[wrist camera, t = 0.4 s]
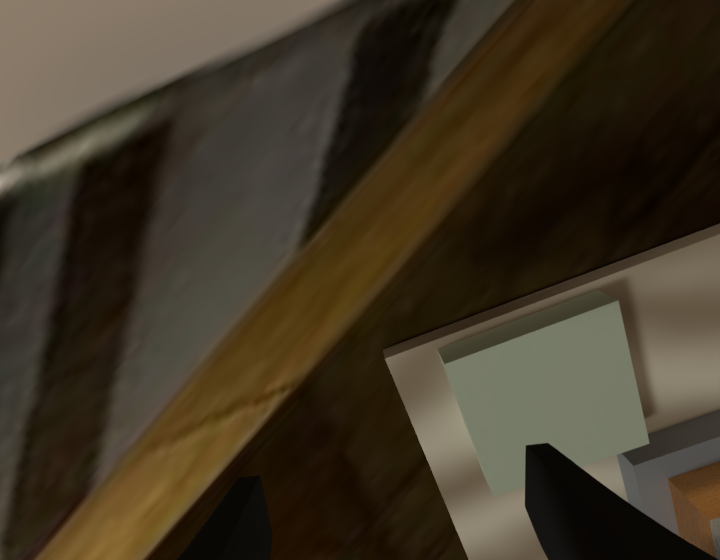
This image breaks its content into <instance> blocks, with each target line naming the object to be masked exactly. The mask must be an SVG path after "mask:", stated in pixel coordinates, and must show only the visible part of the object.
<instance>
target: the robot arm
mask: <svg viewBox="0 0 720 560" xmlns="http://www.w3.org/2000/svg"><path fill="white" fill-rule="evenodd" d="M525 508H526V511H527V513H528V516H529V518H530V521H531V523H532V526H533V528H534V531H535V533H536V535H537V538H538V540H539V542H540V545H541V547H542V549H543V551H544V553H545V555H546V556H547V558H548V560H718V559H717V558H715V557H713V556H711V555H710V554H708V553H706V552H705V551H703V550H701V549H700V548H698V547H696V546H694V545H693V544H691V543H689V542H688V541H686V540H684V539H683V538H681V537H680V536H678V535H676V534H675V533H673V532H671V531H670V530H668V529H667V528H665V527H664V526H662V525H661V524H659V523H658V522H656V521H655V520H653V519H652V518H650V517H649V516H647V515H646V514H644V513H643V512H641V511H640V510H638V509H637V508H635V507H634V506H632V505H631V504H630V503H628V502H627V501H625V500H624V499H622V498H621V497H620V496H618V495H617V494H615V493H614V492H613V491H611V490H610V489H609V488H607V487H606V486H604V485H603V484H602V483H600V482H599V481H598V480H596V479H595V478H594V477H592V476H591V475H590V474H588V473H587V472H586V471H584V470H583V469H582V468H581V467H579V466H578V465H577V464H575V463H574V462H573V461H571V460H570V459H569V458H568V457H566V456H565V455H564V454H562V453H561V452H560V451H558V450H557V449H556V448H554V447H553V446H552V445H550V444H549V443H542V444H533V445H526V454H525ZM271 544H272V531H271V526H270V521H269V516H268V511H267V507H266V502H265V497H264V492H263V487H262V482H261V478H260V476H251V477H242V478H237V479H236V480H235V482H234V483H233V484H232V486H231V487H230V488H229V490H228V491H227V493H226V494H225V496H224V497H223V498H222V500H221V501H220V503H219V504H218V505H217V507H216V508H215V510H214V511H213V512H212V514H211V515H210V517H209V518H208V519H207V521H206V522H205V523H204V525H203V526H202V527H201V529H200V530H199V531H198V533H197V534H196V535H195V537H194V538H193V539H192V541H191V542H190V543H189V545H188V546H187V547H186V549H185V550H184V551H183V552H182V554H181V555H180V556H179V557H178V559H177V560H270V554H271Z"/></svg>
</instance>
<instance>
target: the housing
mask: <svg viewBox="0 0 720 560" xmlns="http://www.w3.org/2000/svg"><path fill="white" fill-rule="evenodd" d="M668 483H669V487H670V492H671V497H672V502H673V507H674V511H675V516H676V521H677V526H678V531H679V535H680V537H681V538H683V539H684V540H686V541H688V542H689V543H691V544H693V545H694V546H696V547H698V548H700V549H701V550H703V551H705V552H706V553H708V554H710V555H711V556H713V557H715V558H717V559H718V560H720V461H719V462H716V463H713V464H710V465H707V466H704V467H701V468H698V469H695V470H692V471H689V472H686V473H683V474H680V475H677V476H674V477H671V478H668Z"/></svg>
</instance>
